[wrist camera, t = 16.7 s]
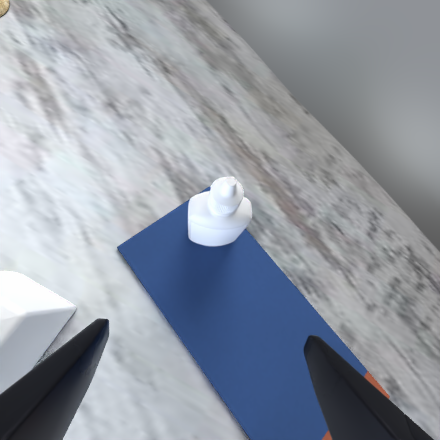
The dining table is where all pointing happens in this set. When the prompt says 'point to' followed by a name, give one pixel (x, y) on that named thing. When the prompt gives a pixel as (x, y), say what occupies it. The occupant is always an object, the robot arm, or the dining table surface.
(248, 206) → the eye dropper bottle
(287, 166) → the dining table surface
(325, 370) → the robot arm
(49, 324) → the medicine bottle
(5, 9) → the hand bell
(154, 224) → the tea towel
